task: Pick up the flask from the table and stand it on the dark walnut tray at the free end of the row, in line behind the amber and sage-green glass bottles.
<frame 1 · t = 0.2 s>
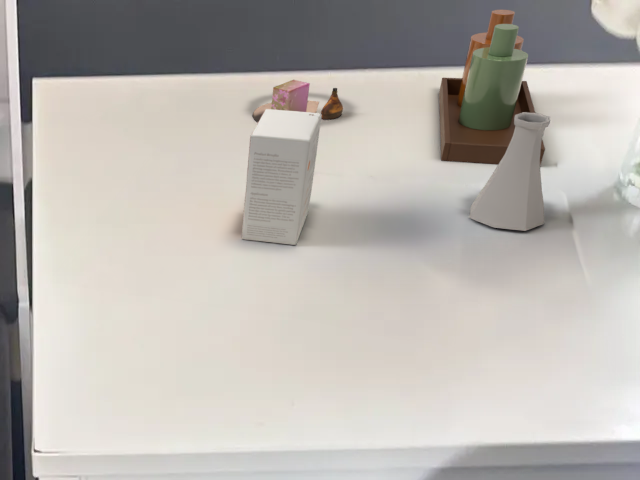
amber bottle: (481, 104, 121), point 1 cm above the table, touching tray
tray: (483, 131, 115), on the table
green bottle: (484, 122, 116), point 1 cm above the table, touching tray
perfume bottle: (299, 117, 123), on the table
flask: (505, 219, 95), on the table
small box: (274, 228, 96), on the table
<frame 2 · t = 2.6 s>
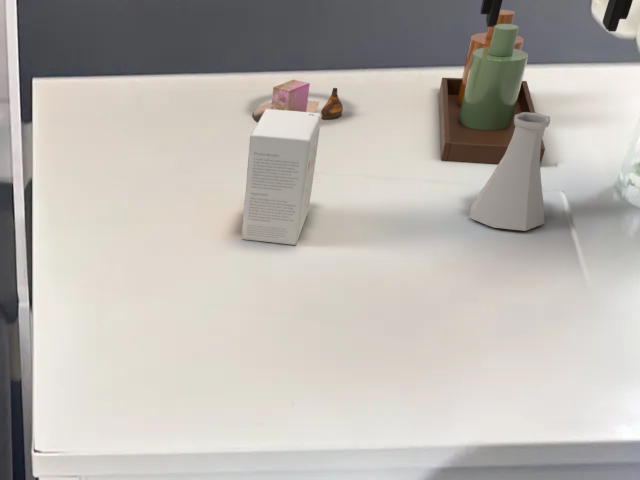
hand: (548, 25, 84), 18 cm above the table, tool pointing down, fingers open, 9 cm apart
nothing on the table moved.
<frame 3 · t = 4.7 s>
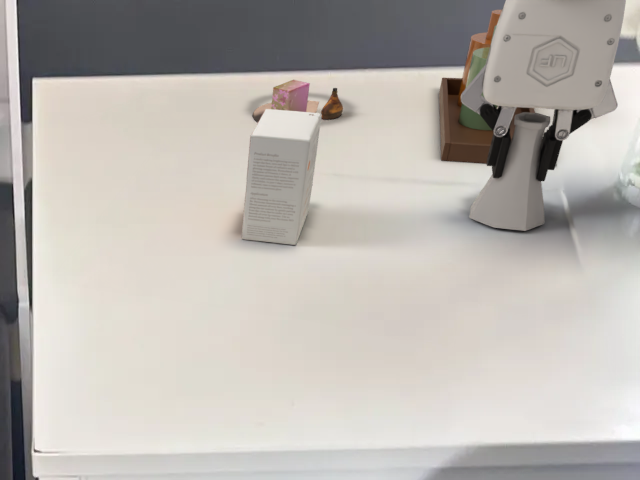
hand: (517, 172, 93), 5 cm above the table, tool pointing down, fingers closed on flask, 3 cm apart
flask: (505, 219, 95), on the table, touching gripper
everything else where it was.
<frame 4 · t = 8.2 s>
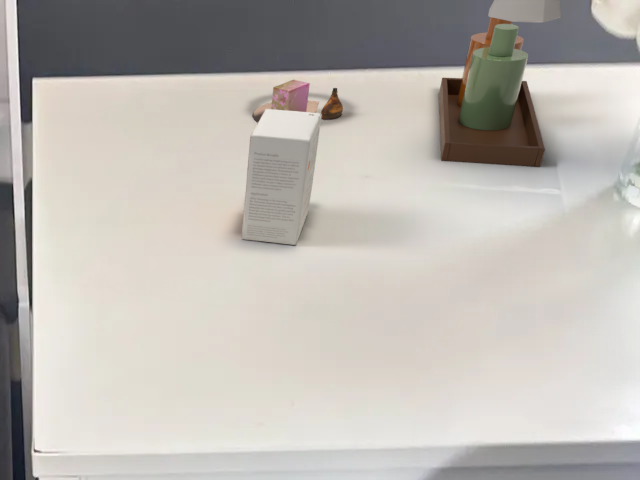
flask: (523, 18, 99), point 15 cm above the table, touching gripper
everything else where it was.
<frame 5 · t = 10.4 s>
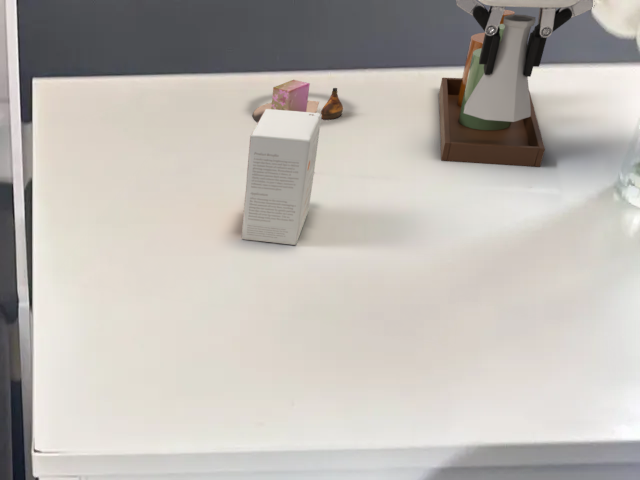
hand: (507, 70, 104), 9 cm above the table, tool pointing down, fingers closed on flask, 3 cm apart
flask: (496, 115, 106), point 4 cm above the table, touching gripper
everything else where it was.
when the fingers open (5 cm above the table, at t = 11.7 s): flask stays where it is, resting on tray.
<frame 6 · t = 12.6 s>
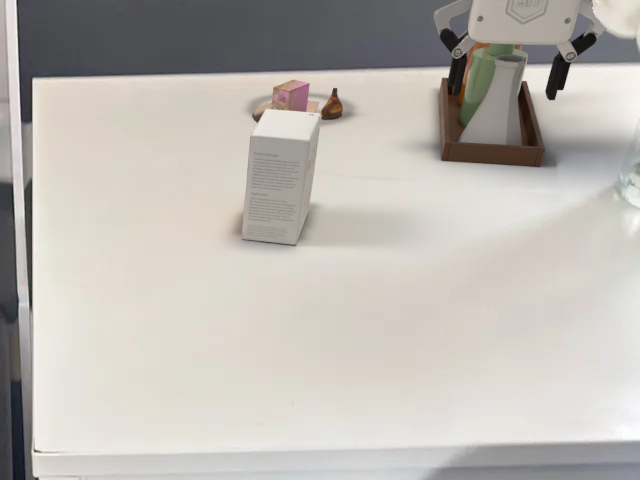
hand: (502, 94, 105), 7 cm above the table, tool pointing down, fingers open, 9 cm apart
flask: (488, 150, 109), resting on tray
everything else where it was.
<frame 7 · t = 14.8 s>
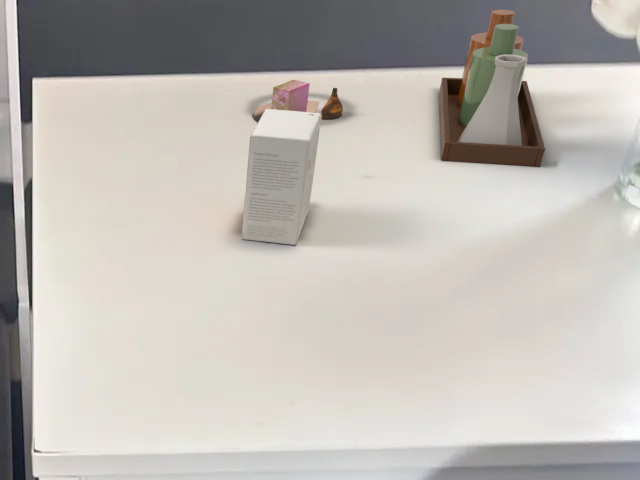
nothing on the table moved.
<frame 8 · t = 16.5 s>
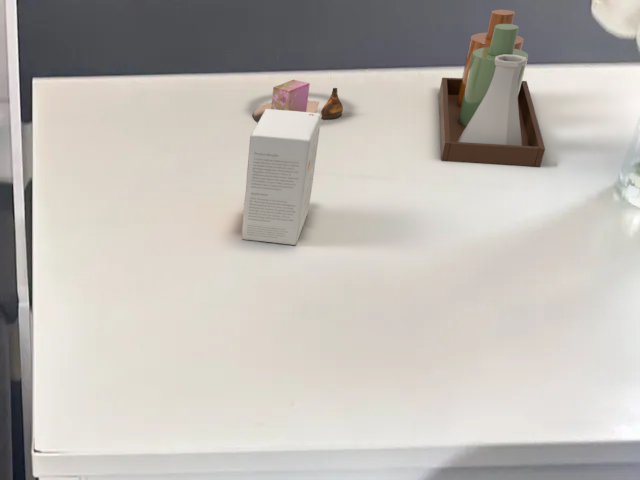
nothing on the table moved.
at the end: flask 0.1 cm from the target spot in the tray, point 0.4 cm above the tray's base; flask tilted 0°; flask 9.5 cm from the green bottle (horizontally) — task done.
